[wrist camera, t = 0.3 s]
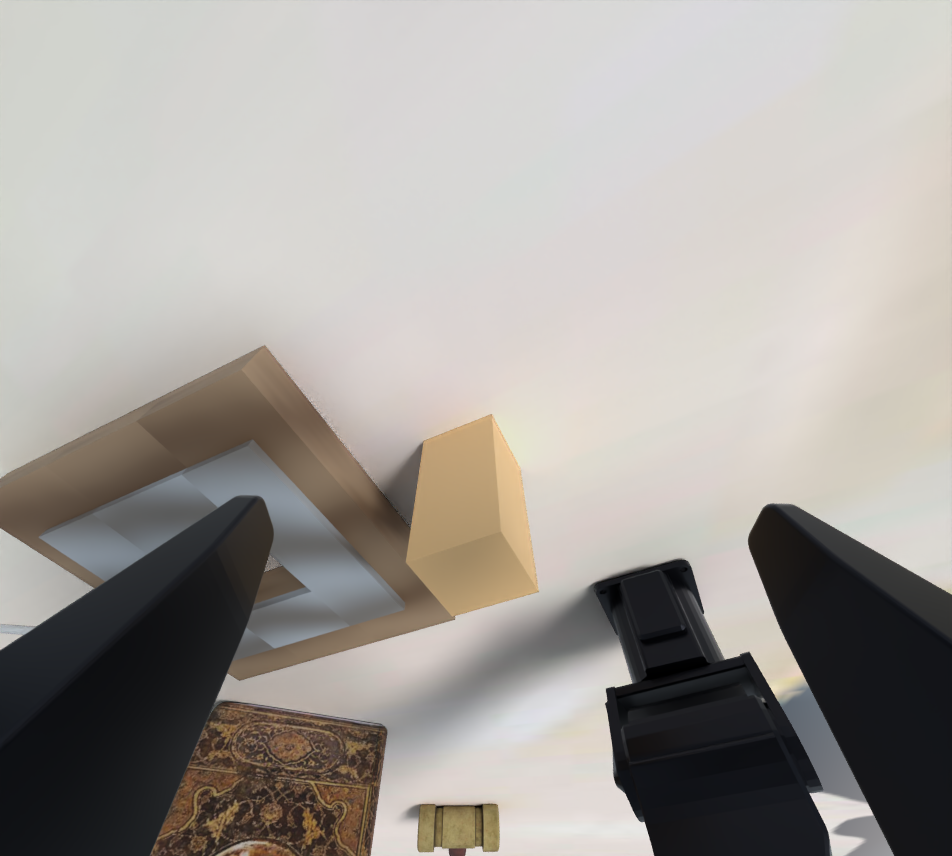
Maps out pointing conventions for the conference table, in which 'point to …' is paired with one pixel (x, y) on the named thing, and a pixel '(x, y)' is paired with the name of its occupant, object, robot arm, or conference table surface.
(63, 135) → the conference table surface
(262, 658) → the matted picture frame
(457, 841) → the gavel
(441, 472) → the tan cardboard-colored box
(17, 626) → the ballpoint pen
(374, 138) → the conference table surface
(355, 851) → the book
